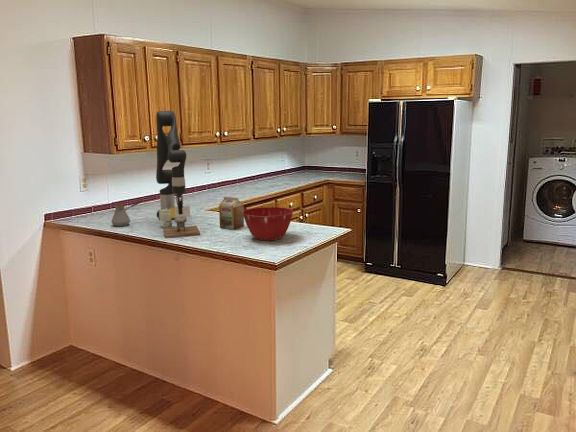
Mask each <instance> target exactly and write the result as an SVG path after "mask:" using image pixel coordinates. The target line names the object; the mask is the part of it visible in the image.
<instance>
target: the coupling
mask: <svg viewBox="0 0 576 432" xmlns="http://www.w3.org/2000/svg"><path fill="white" fill-rule="evenodd" d="M190 207H191V206H190V205H183V208H182V210H183V214H179V210H178V206H177V205H176V206H175V207H170V215H171V218H175V220H174V223H175V224H177V223H185V224H186V223H187V222H188V219H187V218H189V217H191V208H190Z"/></svg>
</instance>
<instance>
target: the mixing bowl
mask: <svg viewBox="0 0 576 432" xmlns="http://www.w3.org/2000/svg"><path fill="white" fill-rule="evenodd" d="M242 213H243V215H244V223H245V224H246V226H247V229H248V231H249V232H250V234H251V236H253V238H255V239H257V240H259V241H268V242H270V241H277V240H280V239H281V238H282V237H284V236H285V235H286V233H287V231H288V229H289V227H290V225H291V221H292V218H293V213H294V210H293V209H291V208H287V207H281V206H279V207H277V206H267V207H266V206H263V207H253V208H249V209H245V210H244V211H243V212H242Z"/></svg>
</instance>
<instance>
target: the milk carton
mask: <svg viewBox="0 0 576 432" xmlns="http://www.w3.org/2000/svg"><path fill="white" fill-rule="evenodd" d="M244 208H245V207H244V203H243V202H241V201H240V200H239V197H234V196H233V197H231V196H223V200H222V201H221V202H220V203H219V206H218V210H219V211H218V213H219V229H220V228H221V230H229V231H236V230H239V229H242V228H244V227H245V219H244V215H243V213H242V212H243V211H244Z"/></svg>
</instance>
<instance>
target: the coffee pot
mask: <svg viewBox="0 0 576 432" xmlns="http://www.w3.org/2000/svg"><path fill="white" fill-rule="evenodd" d="M142 202H143V204H144V203H145V201H144V199H142V200H139V201H137V202H135V203H134V204H132V205H130V206H128V207H126V208H125V206H126V204H116V205H114V208H115V210H114V213H113V215H112V218H111V224H112V225H113V226H115V227H116V228H117V227H127V226H128V225H129V224H130V223H131V219H130V217H129V215H128V213H127V210H129V209H130V208H132V207H135V206H137V205H139V204H140V203H142Z"/></svg>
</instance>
